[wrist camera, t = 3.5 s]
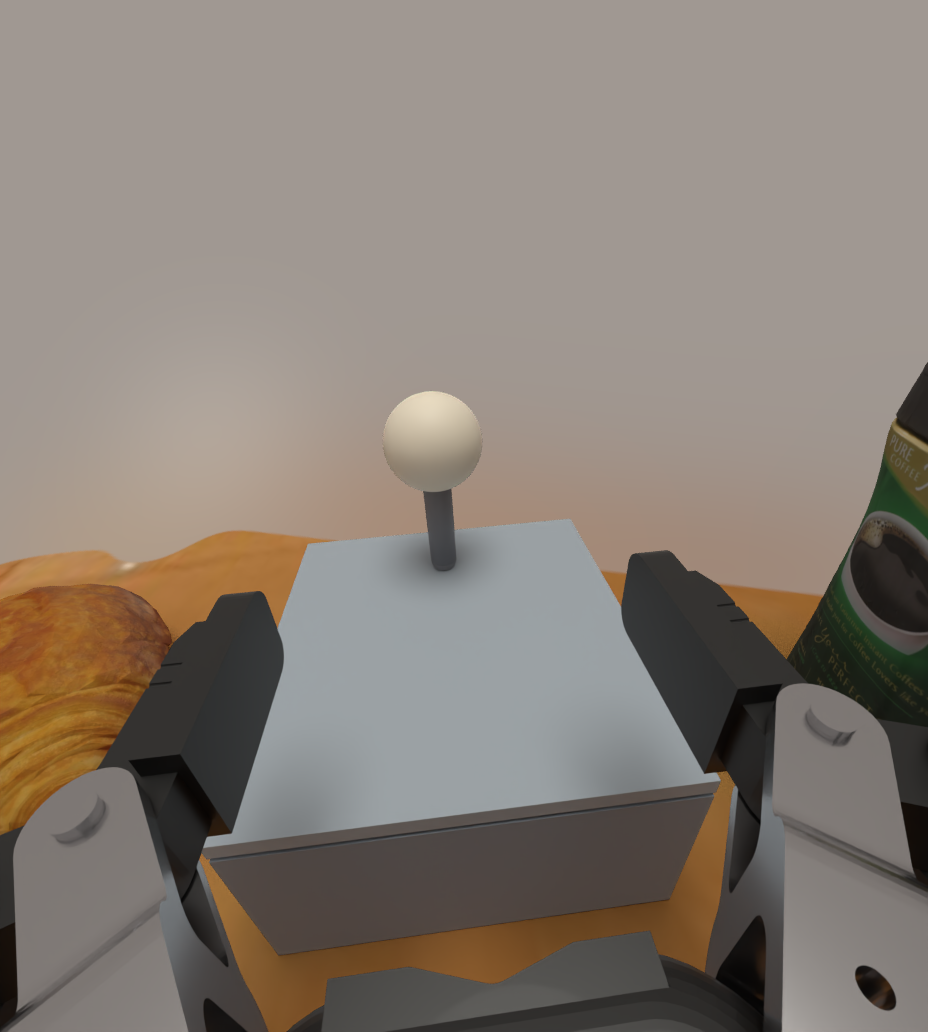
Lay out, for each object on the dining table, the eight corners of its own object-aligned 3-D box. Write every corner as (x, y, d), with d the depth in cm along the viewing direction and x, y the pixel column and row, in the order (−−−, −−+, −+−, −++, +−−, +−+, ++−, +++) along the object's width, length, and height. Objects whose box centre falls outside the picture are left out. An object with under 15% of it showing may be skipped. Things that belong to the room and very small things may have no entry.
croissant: (178, 629, 33) (133, 532, 30) (221, 773, 21) (155, 638, 18) (-107, 747, 26) (-207, 634, 22) (-279, 1069, 14) (-542, 928, 11)
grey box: (669, 899, 16) (714, 796, 13) (278, 955, 16) (209, 862, 12) (561, 624, 28) (569, 531, 25) (337, 648, 28) (311, 556, 24)
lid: (715, 792, 13) (830, 530, 8) (206, 859, 12) (20, 610, 7) (569, 528, 25) (582, 362, 20) (310, 553, 24) (264, 387, 19)
